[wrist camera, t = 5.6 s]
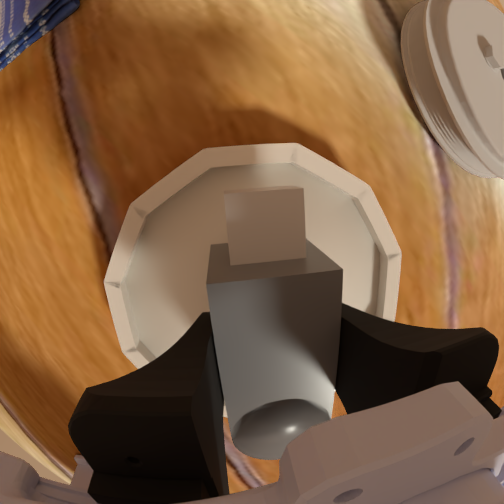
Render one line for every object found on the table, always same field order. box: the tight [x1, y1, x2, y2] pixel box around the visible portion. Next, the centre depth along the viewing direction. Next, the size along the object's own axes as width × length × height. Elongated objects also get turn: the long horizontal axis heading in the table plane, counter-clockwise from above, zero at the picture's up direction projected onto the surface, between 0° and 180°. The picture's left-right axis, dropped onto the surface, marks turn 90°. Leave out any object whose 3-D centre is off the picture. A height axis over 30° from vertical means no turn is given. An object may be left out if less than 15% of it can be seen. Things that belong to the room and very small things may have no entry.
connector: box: [206, 185, 343, 460], centre depth 11 cm, size 4×10×4 cm, turn 4°
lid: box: [401, 0, 504, 179], centre depth 11 cm, size 13×13×5 cm
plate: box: [104, 143, 402, 418], centre depth 14 cm, size 14×14×2 cm
